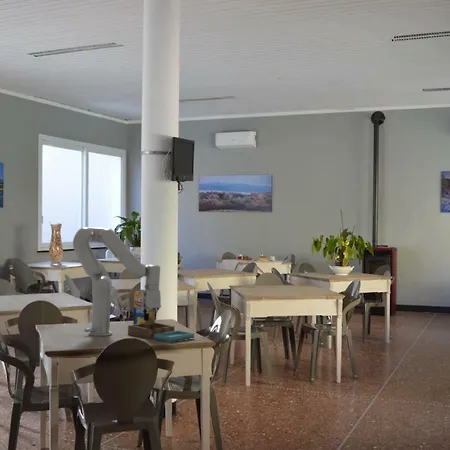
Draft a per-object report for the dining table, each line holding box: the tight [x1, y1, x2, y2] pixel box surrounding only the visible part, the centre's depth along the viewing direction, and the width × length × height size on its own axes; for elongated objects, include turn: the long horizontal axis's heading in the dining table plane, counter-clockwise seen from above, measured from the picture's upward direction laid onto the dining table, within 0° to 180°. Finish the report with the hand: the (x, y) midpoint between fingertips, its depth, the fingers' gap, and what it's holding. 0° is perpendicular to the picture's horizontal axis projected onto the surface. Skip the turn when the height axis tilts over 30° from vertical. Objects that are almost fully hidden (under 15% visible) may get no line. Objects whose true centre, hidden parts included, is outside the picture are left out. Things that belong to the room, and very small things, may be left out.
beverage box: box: [132, 289, 156, 325], centre depth 373 cm, size 7×11×22 cm, turn 53°
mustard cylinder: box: [145, 309, 156, 325], centre depth 351 cm, size 5×5×8 cm
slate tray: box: [153, 330, 195, 343], centre depth 340 cm, size 18×12×3 cm, turn 139°
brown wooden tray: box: [127, 322, 175, 340], centre depth 351 cm, size 18×18×5 cm
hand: (149, 319), depth 351 cm, fingers closed on mustard cylinder, 5 cm apart
